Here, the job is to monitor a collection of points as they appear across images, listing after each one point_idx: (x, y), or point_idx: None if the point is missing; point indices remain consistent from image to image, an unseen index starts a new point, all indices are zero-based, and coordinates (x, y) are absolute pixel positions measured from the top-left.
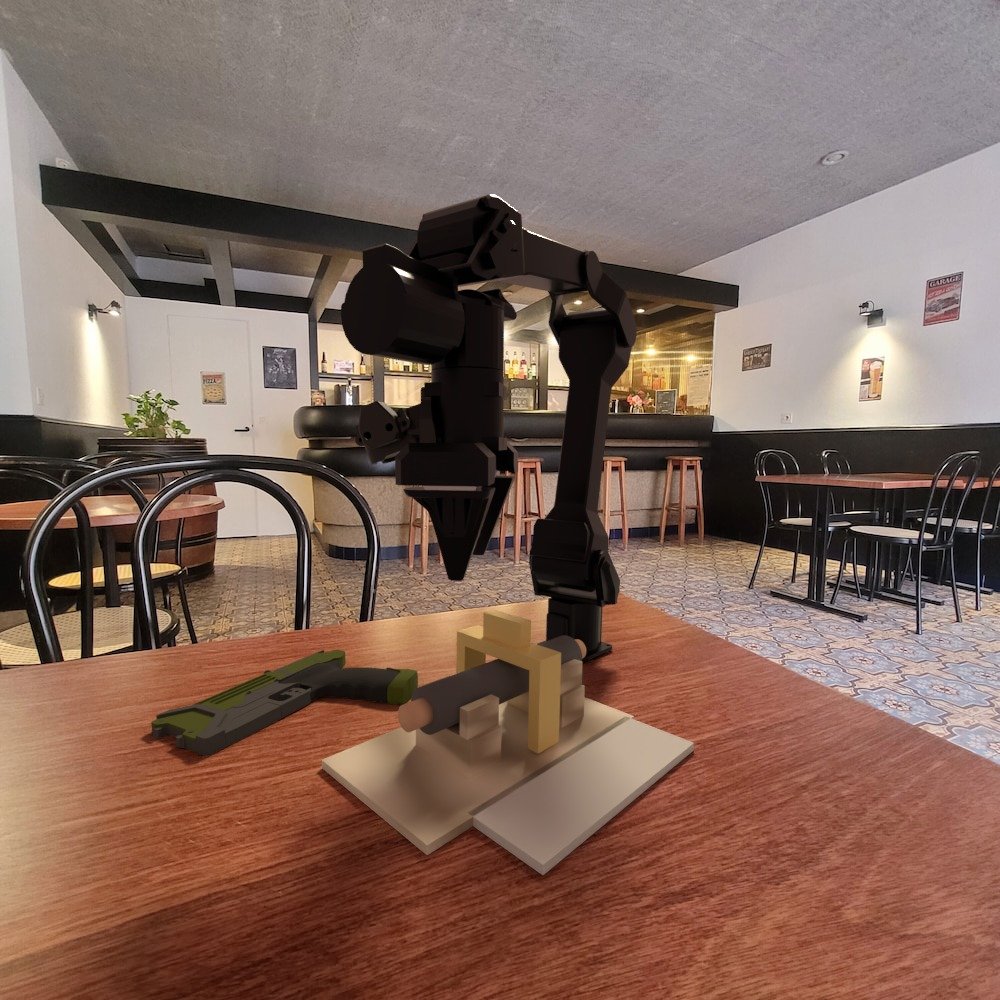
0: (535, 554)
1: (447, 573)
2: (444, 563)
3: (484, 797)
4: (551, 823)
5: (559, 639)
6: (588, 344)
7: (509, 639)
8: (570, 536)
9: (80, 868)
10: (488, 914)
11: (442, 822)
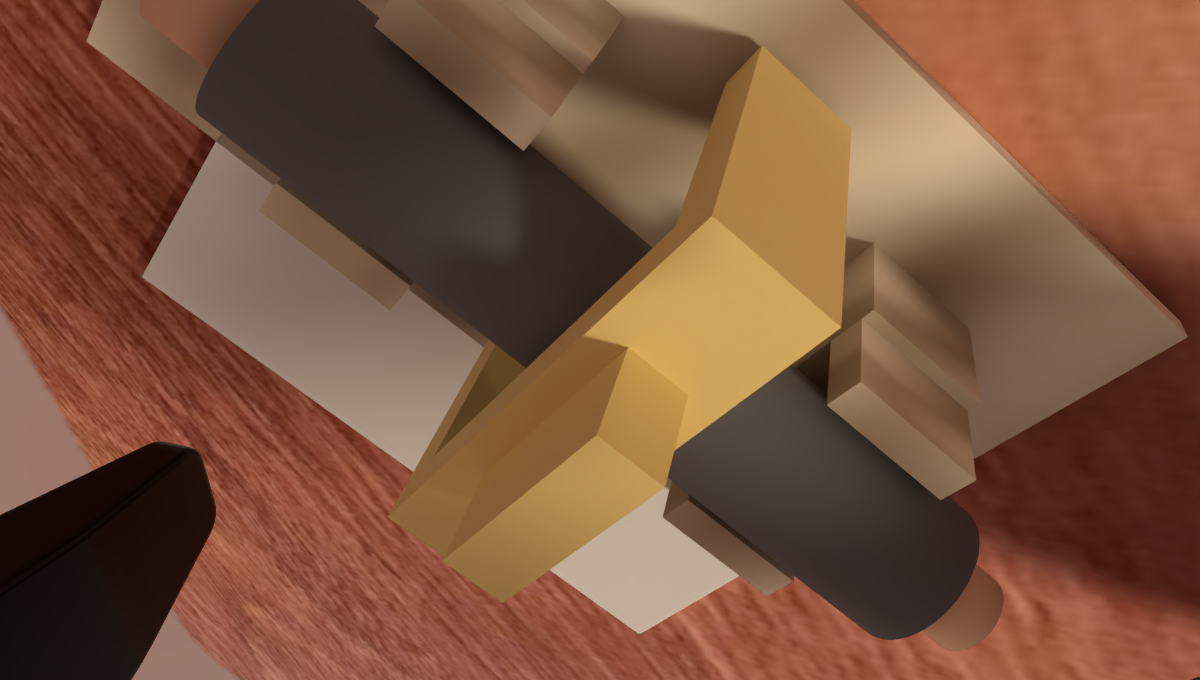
0: None
1: (112, 466)
2: (20, 508)
3: None
4: (256, 305)
5: (867, 597)
6: None
7: (508, 463)
8: None
9: None
10: (36, 169)
11: (170, 67)
